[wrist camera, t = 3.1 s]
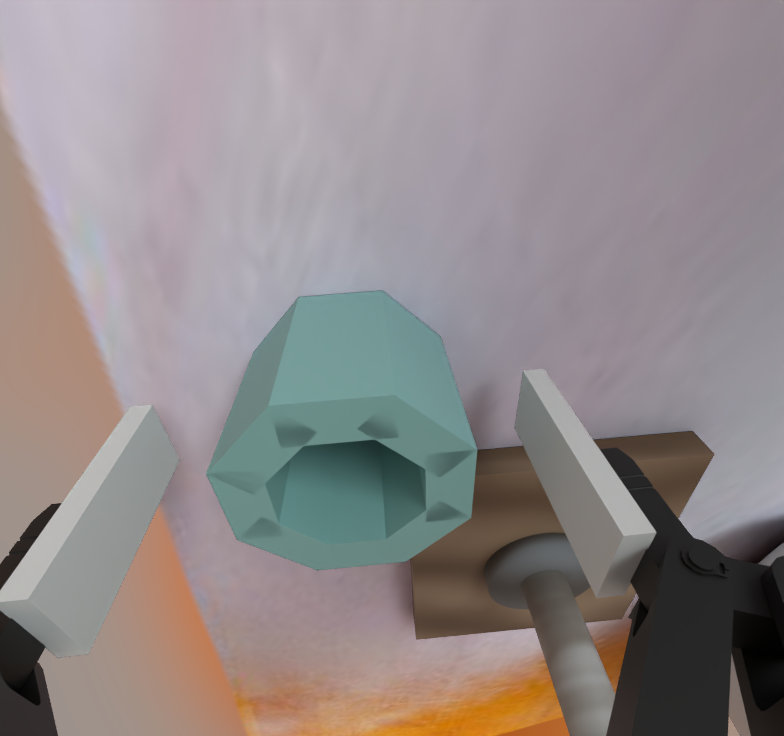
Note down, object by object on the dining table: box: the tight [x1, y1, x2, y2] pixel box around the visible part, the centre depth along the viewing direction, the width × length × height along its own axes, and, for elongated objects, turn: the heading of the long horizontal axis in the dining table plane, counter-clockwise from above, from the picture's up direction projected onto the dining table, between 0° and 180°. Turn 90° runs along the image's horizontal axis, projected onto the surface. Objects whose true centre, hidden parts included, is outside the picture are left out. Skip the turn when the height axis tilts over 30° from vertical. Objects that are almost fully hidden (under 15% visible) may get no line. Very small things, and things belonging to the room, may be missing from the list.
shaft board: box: [411, 431, 714, 736], centre depth 20 cm, size 16×14×10 cm
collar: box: [206, 290, 477, 570], centre depth 14 cm, size 7×7×6 cm
